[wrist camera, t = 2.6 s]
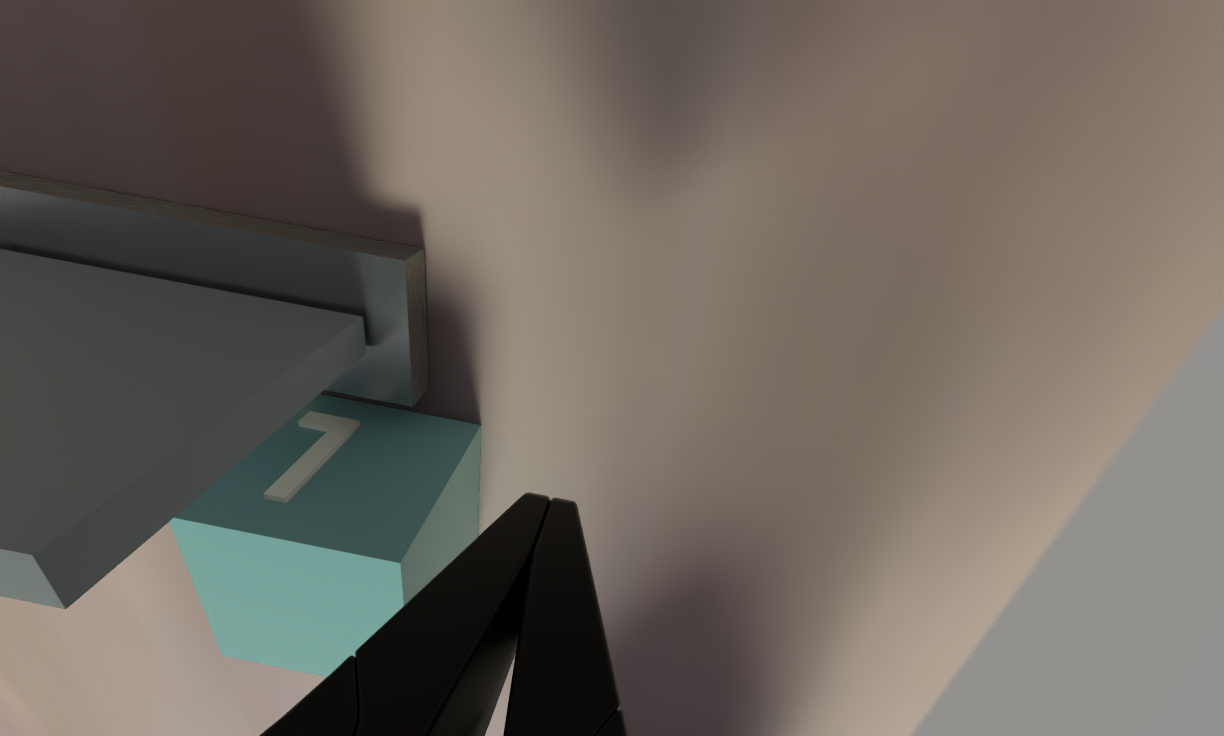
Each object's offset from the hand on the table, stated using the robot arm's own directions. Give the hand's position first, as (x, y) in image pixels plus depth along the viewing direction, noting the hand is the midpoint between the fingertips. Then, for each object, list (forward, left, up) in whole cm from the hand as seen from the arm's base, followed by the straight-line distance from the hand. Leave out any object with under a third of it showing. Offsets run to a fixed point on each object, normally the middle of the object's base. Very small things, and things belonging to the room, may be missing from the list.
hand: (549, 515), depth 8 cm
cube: (+3, +7, -6) cm, 10 cm away
